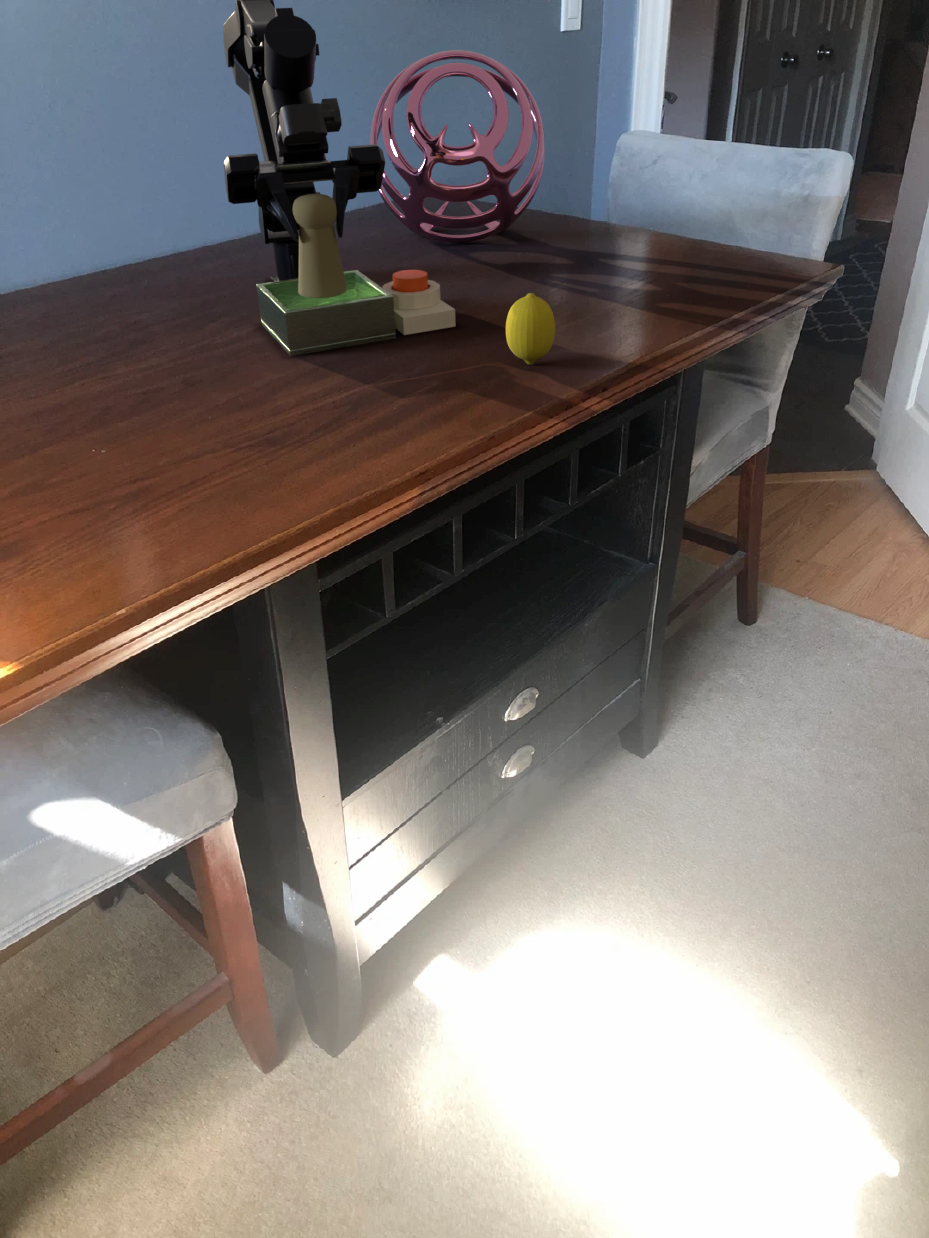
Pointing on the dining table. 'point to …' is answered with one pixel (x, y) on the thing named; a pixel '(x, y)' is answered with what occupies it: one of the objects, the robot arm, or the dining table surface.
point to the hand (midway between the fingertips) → (318, 238)
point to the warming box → (326, 315)
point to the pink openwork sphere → (459, 149)
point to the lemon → (530, 328)
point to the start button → (410, 281)
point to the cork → (318, 247)
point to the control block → (420, 310)
